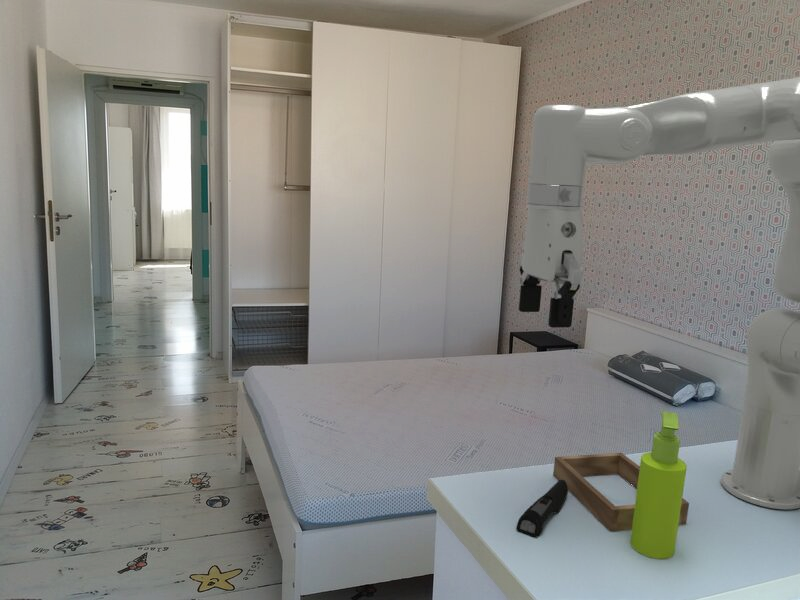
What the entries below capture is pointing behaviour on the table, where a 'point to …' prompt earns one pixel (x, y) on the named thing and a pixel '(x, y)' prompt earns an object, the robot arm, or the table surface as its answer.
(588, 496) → the frame
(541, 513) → the electric trimmer
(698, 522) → the table surface
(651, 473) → the soap dispenser
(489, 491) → the table surface
